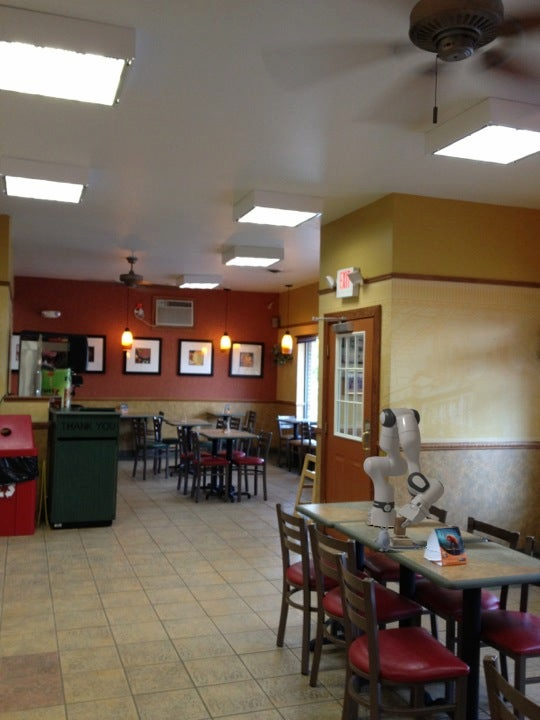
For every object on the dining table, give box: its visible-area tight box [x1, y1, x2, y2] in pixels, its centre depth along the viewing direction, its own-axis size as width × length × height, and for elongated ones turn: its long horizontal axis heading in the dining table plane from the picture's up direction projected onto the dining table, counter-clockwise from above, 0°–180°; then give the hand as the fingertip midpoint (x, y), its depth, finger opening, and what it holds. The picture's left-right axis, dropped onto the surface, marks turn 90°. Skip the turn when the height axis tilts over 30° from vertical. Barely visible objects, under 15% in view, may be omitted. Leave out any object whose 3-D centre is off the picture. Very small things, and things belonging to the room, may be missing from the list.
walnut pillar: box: [393, 516, 407, 536], centre depth 330 cm, size 4×4×8 cm
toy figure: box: [373, 526, 394, 552], centre depth 316 cm, size 11×6×12 cm, turn 101°
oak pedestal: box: [389, 534, 414, 546], centre depth 329 cm, size 10×10×3 cm
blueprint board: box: [389, 541, 423, 550], centre depth 330 cm, size 16×16×1 cm
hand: (399, 525), depth 330 cm, fingers closed on walnut pillar, 4 cm apart
